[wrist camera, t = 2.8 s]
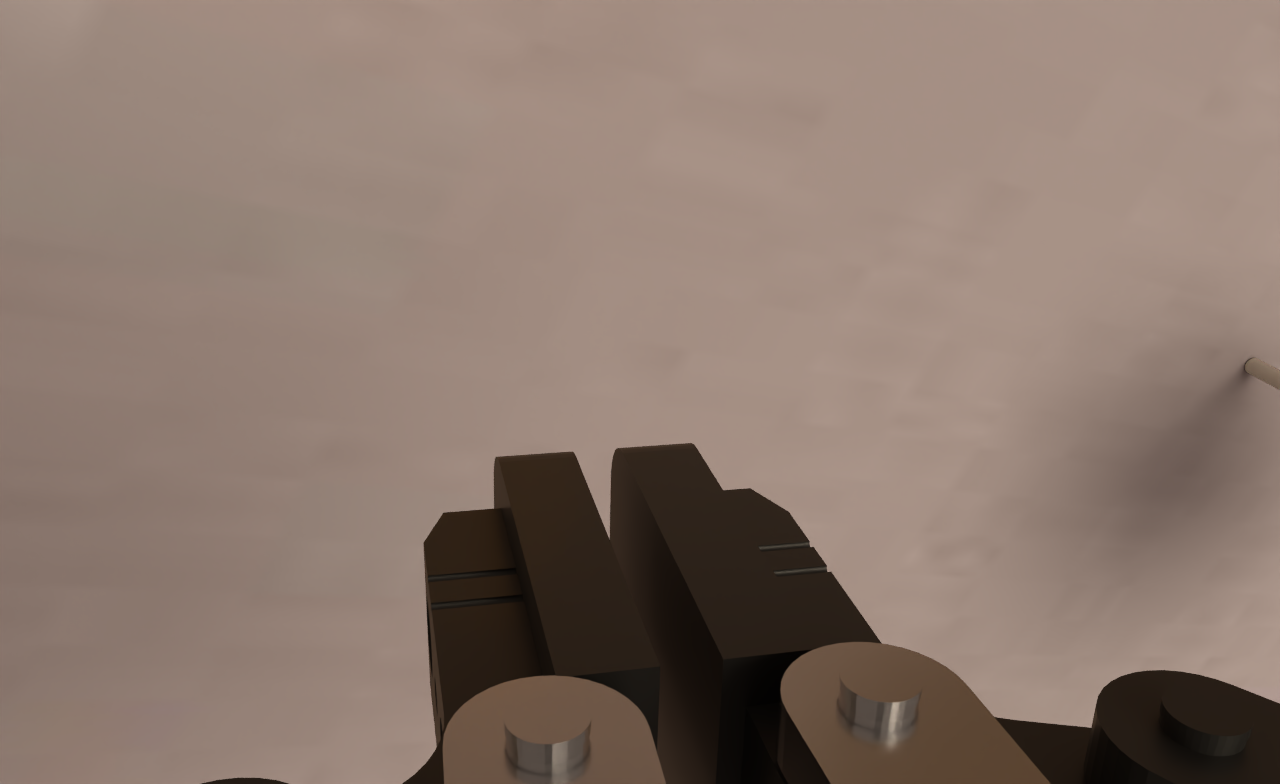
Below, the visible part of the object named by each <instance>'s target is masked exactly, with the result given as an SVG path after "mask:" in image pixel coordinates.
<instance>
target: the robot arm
mask: <svg viewBox="0 0 1280 784" xmlns="http://www.w3.org/2000/svg"><path fill="white" fill-rule="evenodd" d="M424 561H425V582H426V604H427V625H428V646H429V668H430V686H431V696H432V705H433V715H434V722H435V734H436V743H437V748H436V750H435V752H434V753H433V755H432V756H431V757H430V759H429V760H428V761H427V763H426V764H425V765H424V766H423V767H422V768H421V769H420V770H419V771H418V772H417V773H416V774H415V775H413V776H412V777H411V778H409V779H408V780H407V781H405V782H404V783H403V784H1280V704H1279V703H1277V702H1274V701H1272V700H1269V699H1266V698H1264V697H1261V696H1259V695H1256V694H1254V693H1251V692H1249V691H1246V690H1244V689H1241V688H1239V687H1236V686H1234V685H1231V684H1228V683H1225V682H1222V681H1219V680H1216V679H1213V678H1209V677H1205V676H1201V675H1197V674H1191V673H1185V672H1178V671H1166V670H1156V671H1142V672H1135V673H1131V674H1127V675H1124V676H1121V677H1119V678H1117V679H1115V680H1113V681H1111V682H1110V683H1109V684H1108V685H1106V686H1105V687H1104V688H1103V689H1102V691H1101V693H1100V694H1099V696H1098V699H1097V704H1096V708H1095V713H1094V718H1093V723H1092V728H1087V727H1077V726H1067V725H1057V724H1047V723H1037V722H1027V721H1018V720H1010V719H1003V718H996V717H994V716H993V715H992V714H991V713H990V712H989V710H988V709H987V708H986V707H985V706H984V705H983V703H982V702H981V701H980V700H979V699H978V697H977V696H976V695H975V694H974V693H973V692H972V690H971V689H970V688H969V687H968V686H967V685H966V684H965V683H964V682H963V681H962V680H961V679H960V678H959V677H958V676H957V675H956V674H955V673H954V672H952V671H951V670H950V669H948V668H947V667H946V666H944V665H942V664H940V663H939V662H937V661H935V660H933V659H931V658H929V657H927V656H924V655H922V654H920V653H917V652H914V651H911V650H908V649H905V648H901V647H897V646H892V645H888V644H882V643H881V642H880V640H879V639H878V638H877V636H876V635H875V633H874V632H873V631H872V629H871V628H870V626H869V625H868V623H867V622H866V621H865V619H864V618H863V616H862V615H861V614H860V612H859V611H858V609H857V608H856V606H855V605H854V604H853V602H852V601H851V599H850V598H849V597H848V595H847V594H846V592H845V591H844V590H843V588H842V587H841V585H840V584H839V582H838V581H837V580H836V578H835V577H834V575H833V574H832V573H831V572H827V565H826V564H825V563H824V561H823V560H822V558H821V557H820V556H819V554H818V553H817V551H816V550H815V548H814V547H810V545H809V540H808V539H807V537H806V536H805V534H804V533H803V531H802V530H801V529H800V527H799V526H798V524H797V523H796V522H795V520H794V519H793V517H792V516H791V514H790V513H789V512H788V511H786V510H785V509H783V508H781V507H780V506H778V505H777V504H775V503H773V502H772V501H770V500H768V499H767V498H765V497H763V496H762V495H760V494H759V493H757V492H755V491H754V490H752V489H750V488H748V489H736V490H722V488H721V486H720V485H719V483H718V482H717V480H716V478H715V477H714V475H713V474H712V472H711V470H710V469H709V467H708V465H707V464H706V462H705V461H704V459H703V457H702V456H701V454H700V453H699V451H698V449H697V448H696V447H695V445H694V444H692V443H686V444H672V445H658V446H643V447H629V448H617V449H616V450H615V452H614V455H613V460H612V469H611V503H610V540H609V537H608V535H607V532H606V530H605V527H604V525H603V523H602V520H601V518H600V515H599V513H598V510H597V508H596V505H595V503H594V500H593V498H592V495H591V493H590V490H589V488H588V485H587V483H586V480H585V478H584V475H583V473H582V470H581V468H580V465H579V463H578V460H577V458H576V456H575V454H574V452H560V453H545V454H531V455H517V456H503V457H496V458H495V464H494V509H485V510H472V511H460V512H447V513H443V515H442V516H441V518H440V519H439V521H438V522H437V524H436V525H435V527H434V528H433V530H432V531H431V533H430V534H429V536H428V537H427V539H426V540H425V542H424ZM202 784H288V783H284V782H281V781H277V780H270V779H262V778H233V779H223V780H216V781H212V782H207V783H202Z"/></svg>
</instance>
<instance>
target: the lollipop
mask: <svg viewBox="0 0 1280 784" xmlns="http://www.w3.org/2000/svg"><path fill="white" fill-rule="evenodd" d="M1245 370H1246V372H1247V373H1249V374H1251V375H1253V376H1255V377H1256V378H1258V379H1260V380H1262V381H1264V382H1266V383H1267V384H1269V385H1271V386H1273V387H1275V388H1277V389H1279V390H1280V370H1278V369H1276V368H1274V367H1272V366H1270V365H1268V364H1266V363H1265V362H1263V361H1261V360H1259V359H1257V358H1252V359H1250V360H1249V361H1248V362H1247V363H1246V365H1245Z"/></svg>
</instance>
